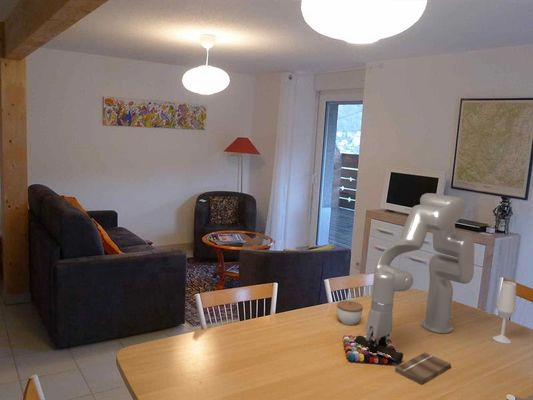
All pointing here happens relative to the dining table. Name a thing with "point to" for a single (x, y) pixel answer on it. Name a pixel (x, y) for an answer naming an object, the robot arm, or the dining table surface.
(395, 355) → the hand tool
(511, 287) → the champagne flute
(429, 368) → the board
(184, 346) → the dining table surface
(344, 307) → the lidded jar
